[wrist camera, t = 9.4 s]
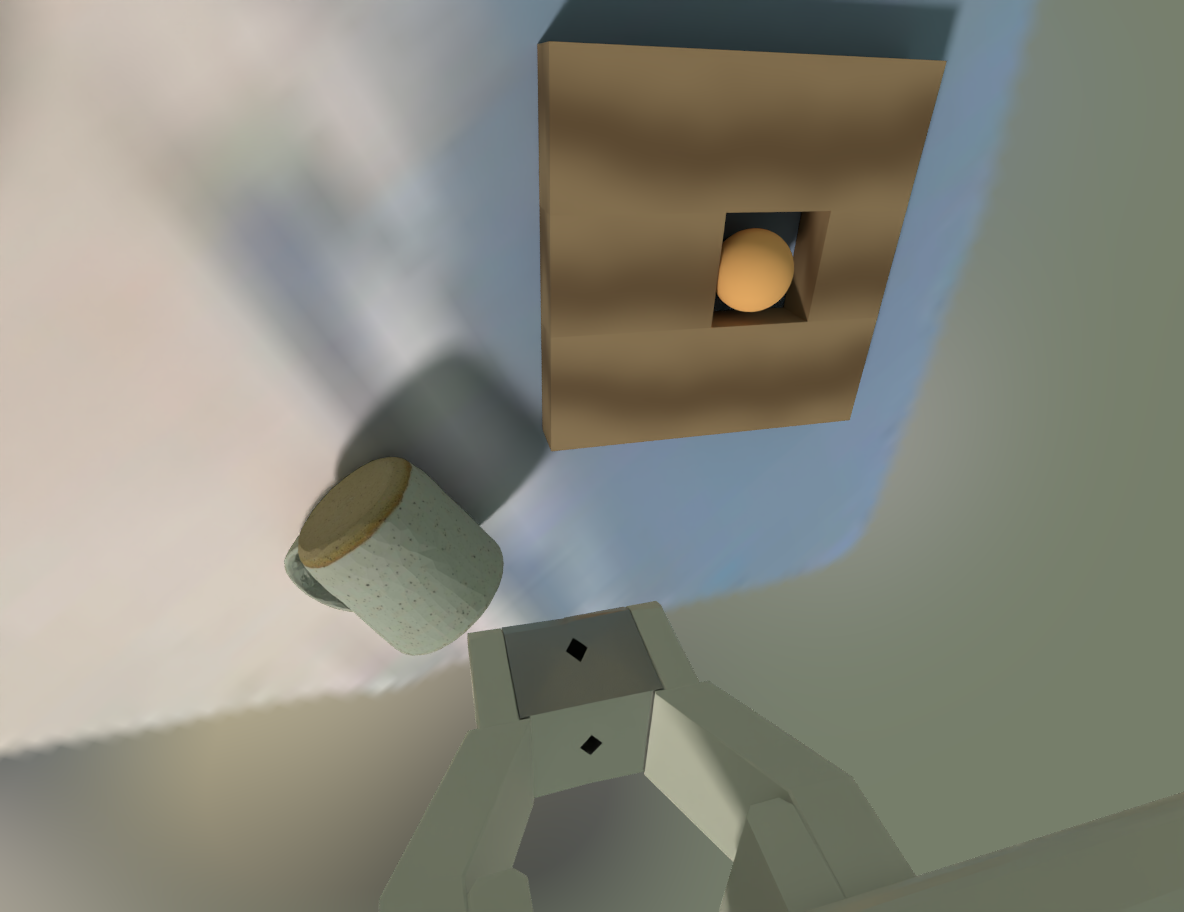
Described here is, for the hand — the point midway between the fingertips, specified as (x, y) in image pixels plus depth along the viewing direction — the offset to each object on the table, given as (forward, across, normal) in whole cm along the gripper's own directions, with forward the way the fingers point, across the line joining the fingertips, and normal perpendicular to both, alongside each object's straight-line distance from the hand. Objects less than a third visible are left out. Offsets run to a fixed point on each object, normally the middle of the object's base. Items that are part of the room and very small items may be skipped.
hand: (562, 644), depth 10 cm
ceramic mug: (+24, +5, +15) cm, 28 cm away
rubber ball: (+22, -14, 0) cm, 26 cm away
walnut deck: (+24, -13, 0) cm, 27 cm away
